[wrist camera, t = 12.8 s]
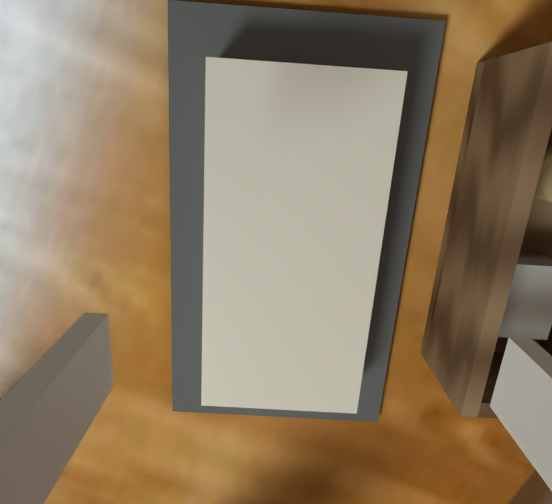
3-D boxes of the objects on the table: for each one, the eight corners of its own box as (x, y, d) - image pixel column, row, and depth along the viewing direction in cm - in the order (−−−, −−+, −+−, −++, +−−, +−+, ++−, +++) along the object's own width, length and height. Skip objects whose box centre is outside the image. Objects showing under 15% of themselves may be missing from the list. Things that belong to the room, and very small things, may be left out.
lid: (214, 64, 24) (205, 56, 21) (391, 77, 25) (407, 71, 22) (208, 377, 31) (201, 405, 28) (348, 385, 31) (356, 413, 28)
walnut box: (477, 62, 25) (551, 41, 18) (622, 73, 25) (748, 56, 19) (420, 352, 31) (460, 416, 24) (538, 359, 31) (610, 424, 25)
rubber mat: (169, 2, 24) (167, -1, 23) (442, 22, 24) (445, 20, 24) (174, 406, 32) (172, 411, 32) (376, 417, 33) (378, 421, 32)
